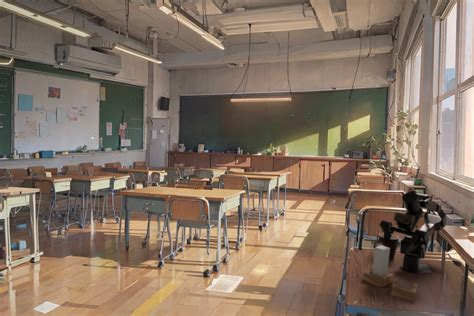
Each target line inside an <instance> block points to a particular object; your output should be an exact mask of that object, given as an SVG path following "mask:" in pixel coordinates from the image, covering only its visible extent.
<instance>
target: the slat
mask: <svg viewBox="0 0 474 316" xmlns="http://www.w3.org/2000/svg"><path fill="white" fill-rule="evenodd" d="M389 253H390V248H388V247H385V246H382V245H381V246H379V245H378V246H375V247H374V254H373V261H372V262H373V263H372V269H373V271H372V274H374V275H376V276H379V277H384V276H386V275H388V268H389V261H390V260H389Z"/></svg>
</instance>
